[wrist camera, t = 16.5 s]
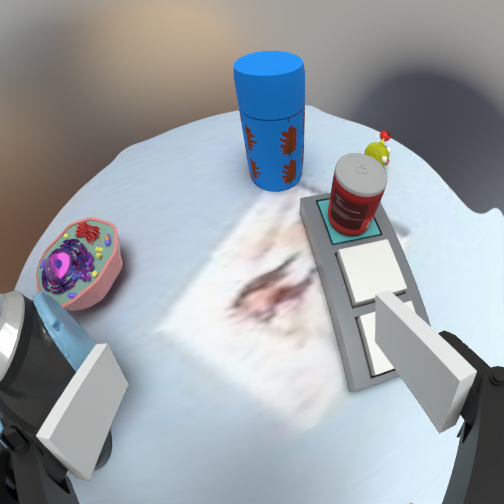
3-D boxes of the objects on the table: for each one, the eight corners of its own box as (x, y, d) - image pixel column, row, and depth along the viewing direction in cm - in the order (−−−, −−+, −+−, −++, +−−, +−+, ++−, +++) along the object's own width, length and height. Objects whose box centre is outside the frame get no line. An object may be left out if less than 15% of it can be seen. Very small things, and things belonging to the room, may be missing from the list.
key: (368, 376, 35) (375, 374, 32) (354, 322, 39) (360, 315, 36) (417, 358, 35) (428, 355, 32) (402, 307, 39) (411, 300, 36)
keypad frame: (349, 391, 36) (355, 390, 33) (299, 211, 52) (300, 198, 48) (428, 362, 36) (440, 359, 32) (367, 200, 52) (372, 186, 48)
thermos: (303, 156, 59) (304, 51, 37) (301, 193, 54) (305, 77, 32) (253, 154, 60) (238, 51, 39) (246, 190, 55) (225, 77, 34)
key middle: (350, 310, 40) (356, 302, 37) (335, 260, 44) (338, 249, 41) (398, 296, 40) (407, 288, 37) (381, 249, 44) (387, 239, 41)
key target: (330, 254, 47) (333, 243, 43) (316, 213, 51) (317, 201, 48) (375, 244, 46) (380, 233, 43) (358, 206, 51) (362, 194, 48)
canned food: (364, 197, 47) (377, 152, 38) (376, 236, 43) (395, 192, 34) (322, 200, 48) (329, 152, 38) (331, 239, 44) (342, 195, 34)
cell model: (148, 294, 47) (116, 265, 37) (65, 334, 44) (26, 315, 35) (129, 224, 55) (103, 189, 45) (57, 264, 52) (26, 239, 43)
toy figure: (372, 201, 51) (381, 178, 45) (347, 189, 53) (353, 165, 47) (394, 151, 58) (400, 129, 52) (373, 142, 60) (378, 120, 54)
